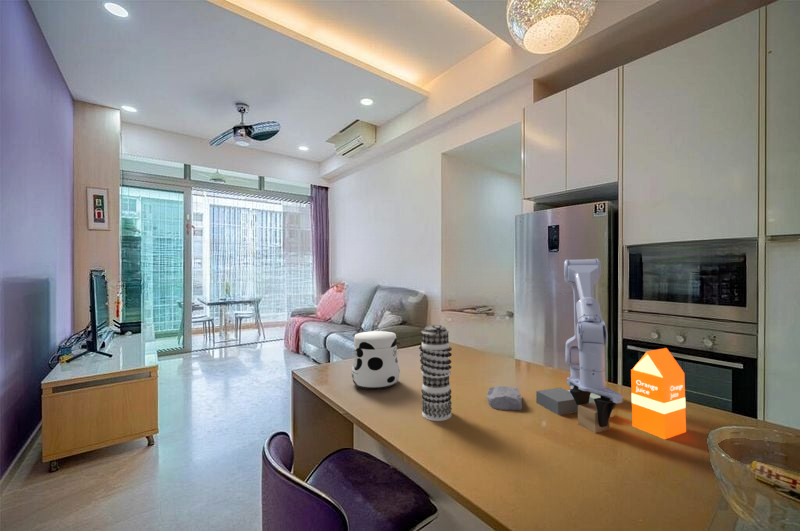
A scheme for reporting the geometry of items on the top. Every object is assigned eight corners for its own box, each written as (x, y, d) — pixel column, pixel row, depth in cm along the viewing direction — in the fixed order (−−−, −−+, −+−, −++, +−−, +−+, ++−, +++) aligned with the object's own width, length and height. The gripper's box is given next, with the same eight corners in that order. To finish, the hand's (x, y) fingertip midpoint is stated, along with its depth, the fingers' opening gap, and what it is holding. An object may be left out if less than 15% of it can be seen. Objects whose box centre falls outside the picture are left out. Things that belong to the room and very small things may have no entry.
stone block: (490, 415, 99) (525, 411, 97) (486, 399, 99) (521, 394, 97) (488, 401, 110) (519, 397, 109) (484, 386, 111) (515, 382, 109)
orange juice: (631, 426, 87) (629, 348, 87) (652, 419, 90) (650, 344, 91) (665, 439, 80) (663, 355, 80) (687, 432, 83) (684, 351, 83)
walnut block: (592, 421, 90) (591, 402, 90) (609, 429, 85) (609, 409, 85) (578, 424, 88) (577, 405, 88) (595, 433, 83) (594, 412, 84)
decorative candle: (440, 425, 89) (438, 330, 89) (413, 415, 95) (412, 326, 96) (459, 413, 96) (457, 325, 96) (433, 405, 102) (431, 322, 102)
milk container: (408, 381, 124) (407, 332, 124) (381, 397, 110) (380, 341, 110) (371, 374, 133) (370, 329, 134) (341, 387, 119) (340, 336, 119)
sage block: (597, 409, 97) (596, 392, 97) (613, 416, 93) (613, 398, 93) (584, 412, 96) (584, 394, 96) (600, 419, 91) (599, 401, 91)
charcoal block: (560, 400, 105) (560, 387, 105) (584, 411, 97) (583, 397, 97) (536, 404, 103) (536, 390, 103) (558, 416, 94) (557, 401, 94)
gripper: (558, 362, 92) (559, 412, 92) (606, 378, 79) (608, 436, 79) (577, 360, 95) (578, 408, 95) (627, 374, 81) (629, 431, 81)
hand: (593, 421), depth 87 cm, fingers closed on walnut block, 5 cm apart
